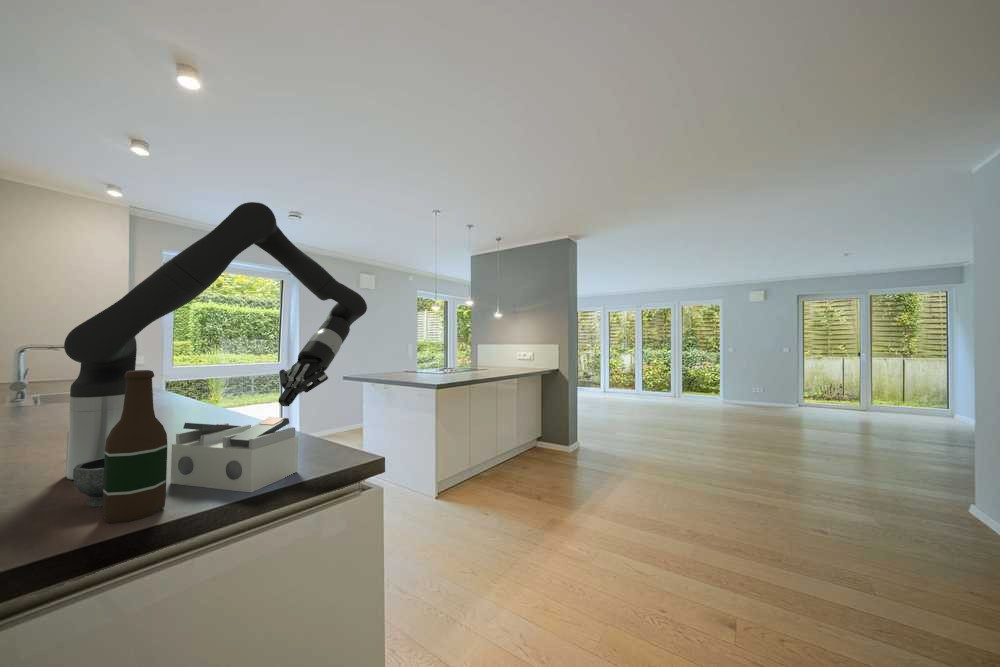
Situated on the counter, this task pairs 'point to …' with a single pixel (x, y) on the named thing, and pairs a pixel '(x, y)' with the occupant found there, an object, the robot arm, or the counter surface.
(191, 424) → the bar
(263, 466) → the box
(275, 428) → the rocker
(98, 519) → the counter surface
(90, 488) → the mortar and pestle
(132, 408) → the beer bottle
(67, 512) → the counter surface
